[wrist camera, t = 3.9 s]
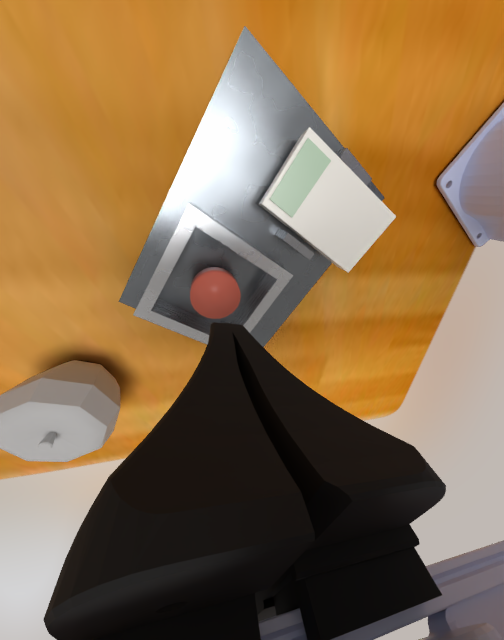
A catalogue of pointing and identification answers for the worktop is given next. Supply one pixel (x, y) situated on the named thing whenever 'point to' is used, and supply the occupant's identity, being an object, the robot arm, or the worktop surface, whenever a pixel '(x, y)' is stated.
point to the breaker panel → (234, 207)
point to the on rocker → (326, 203)
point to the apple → (60, 413)
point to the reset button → (214, 293)
